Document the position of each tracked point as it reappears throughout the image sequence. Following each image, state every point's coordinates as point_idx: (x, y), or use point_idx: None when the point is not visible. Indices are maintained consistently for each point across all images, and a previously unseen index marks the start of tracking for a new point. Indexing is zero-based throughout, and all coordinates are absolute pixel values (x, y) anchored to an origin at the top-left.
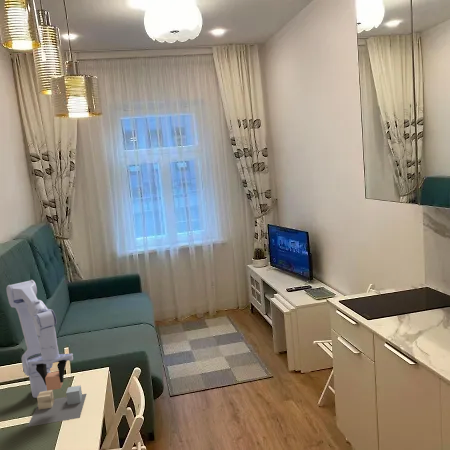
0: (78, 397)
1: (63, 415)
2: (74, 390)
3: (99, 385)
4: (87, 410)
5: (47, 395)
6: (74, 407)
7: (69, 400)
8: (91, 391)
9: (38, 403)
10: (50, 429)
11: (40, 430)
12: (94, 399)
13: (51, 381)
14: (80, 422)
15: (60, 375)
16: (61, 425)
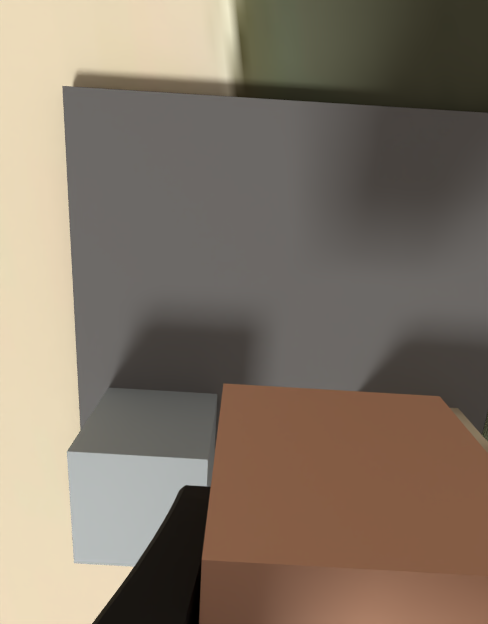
0: (105, 413)
1: (231, 204)
2: (120, 478)
3: (20, 617)
4: (34, 249)
5: None
6: (149, 320)
7: (193, 410)
8: (65, 554)
9: (479, 438)
10: (333, 4)
11: (428, 27)
12: (13, 420)
13: (392, 487)
14: (55, 26)
15: (166, 600)
16: (235, 45)
